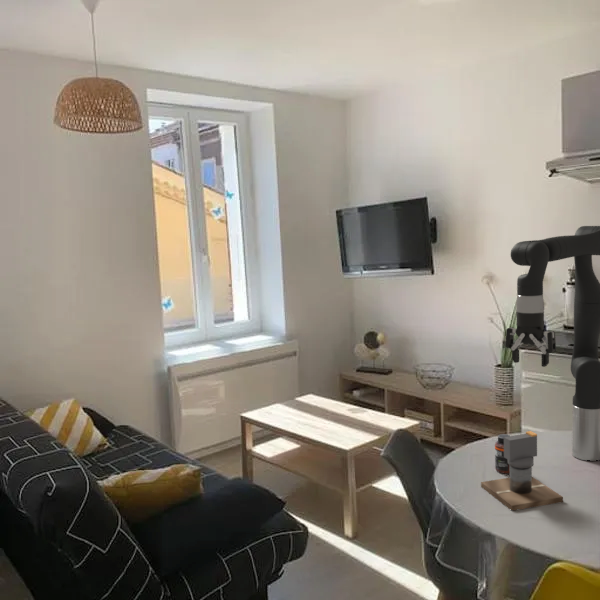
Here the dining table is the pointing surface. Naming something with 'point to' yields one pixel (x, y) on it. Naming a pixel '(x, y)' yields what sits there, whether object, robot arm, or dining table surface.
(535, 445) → the wing cap
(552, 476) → the dining table surface
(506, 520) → the dining table surface
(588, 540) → the dining table surface
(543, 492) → the base
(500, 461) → the supplement bottle
